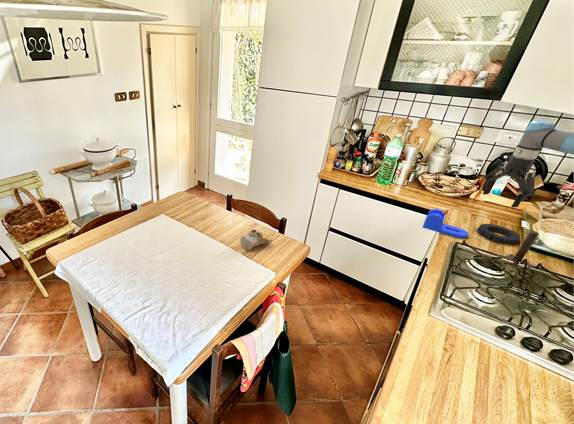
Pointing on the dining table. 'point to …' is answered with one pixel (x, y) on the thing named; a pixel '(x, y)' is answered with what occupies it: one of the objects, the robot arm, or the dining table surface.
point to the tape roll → (509, 240)
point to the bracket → (442, 224)
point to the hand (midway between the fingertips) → (499, 200)
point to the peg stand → (523, 250)
